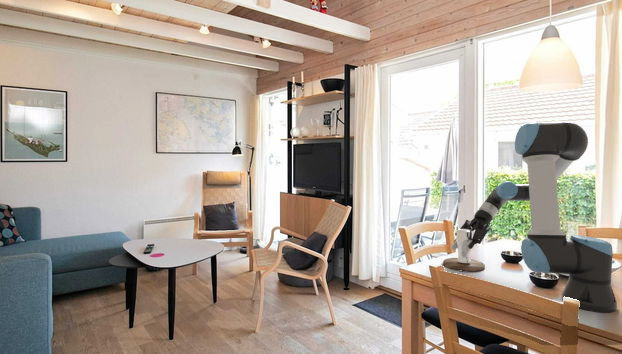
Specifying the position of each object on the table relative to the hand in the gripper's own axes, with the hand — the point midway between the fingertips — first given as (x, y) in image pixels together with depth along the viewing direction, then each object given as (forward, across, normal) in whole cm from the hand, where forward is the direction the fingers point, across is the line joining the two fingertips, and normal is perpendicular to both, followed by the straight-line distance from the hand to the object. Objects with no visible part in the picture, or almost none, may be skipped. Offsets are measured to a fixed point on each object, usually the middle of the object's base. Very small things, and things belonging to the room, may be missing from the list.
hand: (458, 250), depth 169 cm
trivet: (+3, 0, -8) cm, 8 cm away
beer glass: (+1, 0, -7) cm, 7 cm away
